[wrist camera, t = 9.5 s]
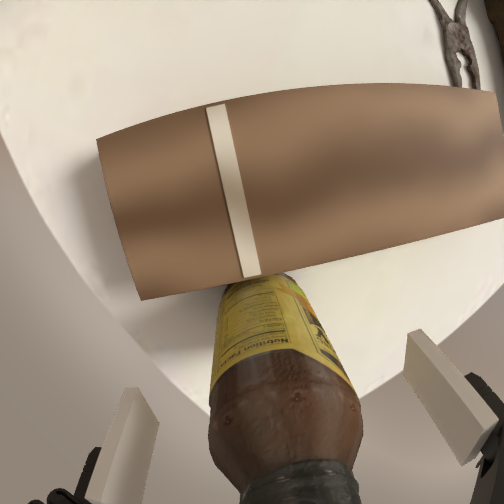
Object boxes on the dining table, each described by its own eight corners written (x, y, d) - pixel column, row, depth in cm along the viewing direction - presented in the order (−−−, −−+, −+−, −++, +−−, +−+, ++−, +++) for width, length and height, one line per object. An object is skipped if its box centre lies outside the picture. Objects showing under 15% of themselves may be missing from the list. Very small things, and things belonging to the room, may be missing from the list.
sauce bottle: (301, 334, 23) (385, 584, 4) (222, 338, 23) (215, 609, 4) (304, 257, 21) (474, 541, 2) (216, 261, 21) (170, 606, 2)
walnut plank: (121, 142, 18) (95, 139, 14) (465, 97, 18) (496, 92, 14) (156, 276, 21) (140, 301, 17) (478, 207, 21) (508, 216, 17)
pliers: (447, -53, 11) (515, 101, 17) (443, -50, 12) (510, 101, 18) (379, -73, 11) (460, 99, 17) (376, -69, 12) (454, 100, 18)
